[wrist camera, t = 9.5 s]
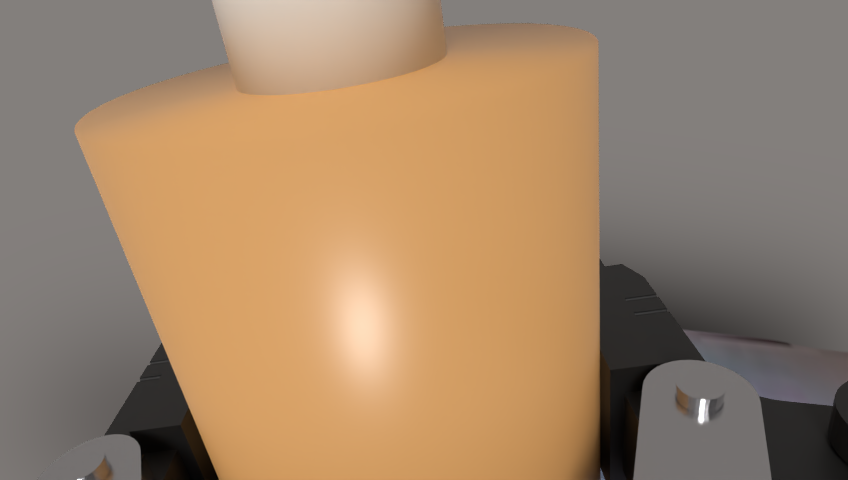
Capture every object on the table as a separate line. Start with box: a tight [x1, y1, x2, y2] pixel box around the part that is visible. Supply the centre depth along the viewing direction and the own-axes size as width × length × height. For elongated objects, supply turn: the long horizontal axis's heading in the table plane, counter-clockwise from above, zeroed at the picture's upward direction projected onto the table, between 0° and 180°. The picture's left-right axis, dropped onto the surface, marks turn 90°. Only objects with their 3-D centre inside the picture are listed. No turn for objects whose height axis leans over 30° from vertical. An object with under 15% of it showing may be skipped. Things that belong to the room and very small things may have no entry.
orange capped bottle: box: [75, 0, 600, 480], centre depth 9 cm, size 6×6×14 cm
